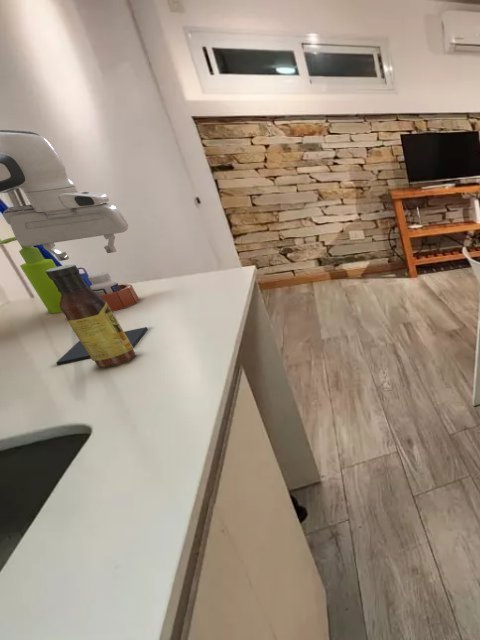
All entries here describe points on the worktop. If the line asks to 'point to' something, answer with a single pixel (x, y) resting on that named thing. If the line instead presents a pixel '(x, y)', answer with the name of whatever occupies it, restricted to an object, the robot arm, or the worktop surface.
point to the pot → (121, 297)
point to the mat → (80, 352)
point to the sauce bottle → (91, 318)
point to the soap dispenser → (39, 275)
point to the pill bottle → (103, 283)
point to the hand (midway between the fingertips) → (88, 256)
